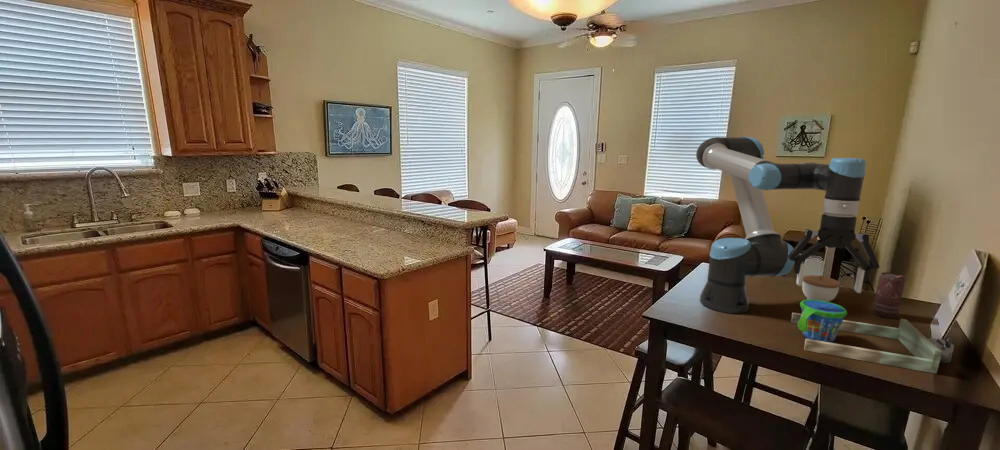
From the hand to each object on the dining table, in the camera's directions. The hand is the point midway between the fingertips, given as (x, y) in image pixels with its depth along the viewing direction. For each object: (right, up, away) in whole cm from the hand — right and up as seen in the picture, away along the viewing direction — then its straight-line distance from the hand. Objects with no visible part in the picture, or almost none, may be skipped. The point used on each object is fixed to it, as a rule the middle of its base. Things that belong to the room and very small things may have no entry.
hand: (827, 287), depth 118 cm
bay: (+7, -16, 0) cm, 18 cm away
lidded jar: (+21, -9, +32) cm, 39 cm away
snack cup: (0, -16, +4) cm, 16 cm away
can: (+34, -12, +19) cm, 41 cm away
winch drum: (+23, -18, -7) cm, 30 cm away
